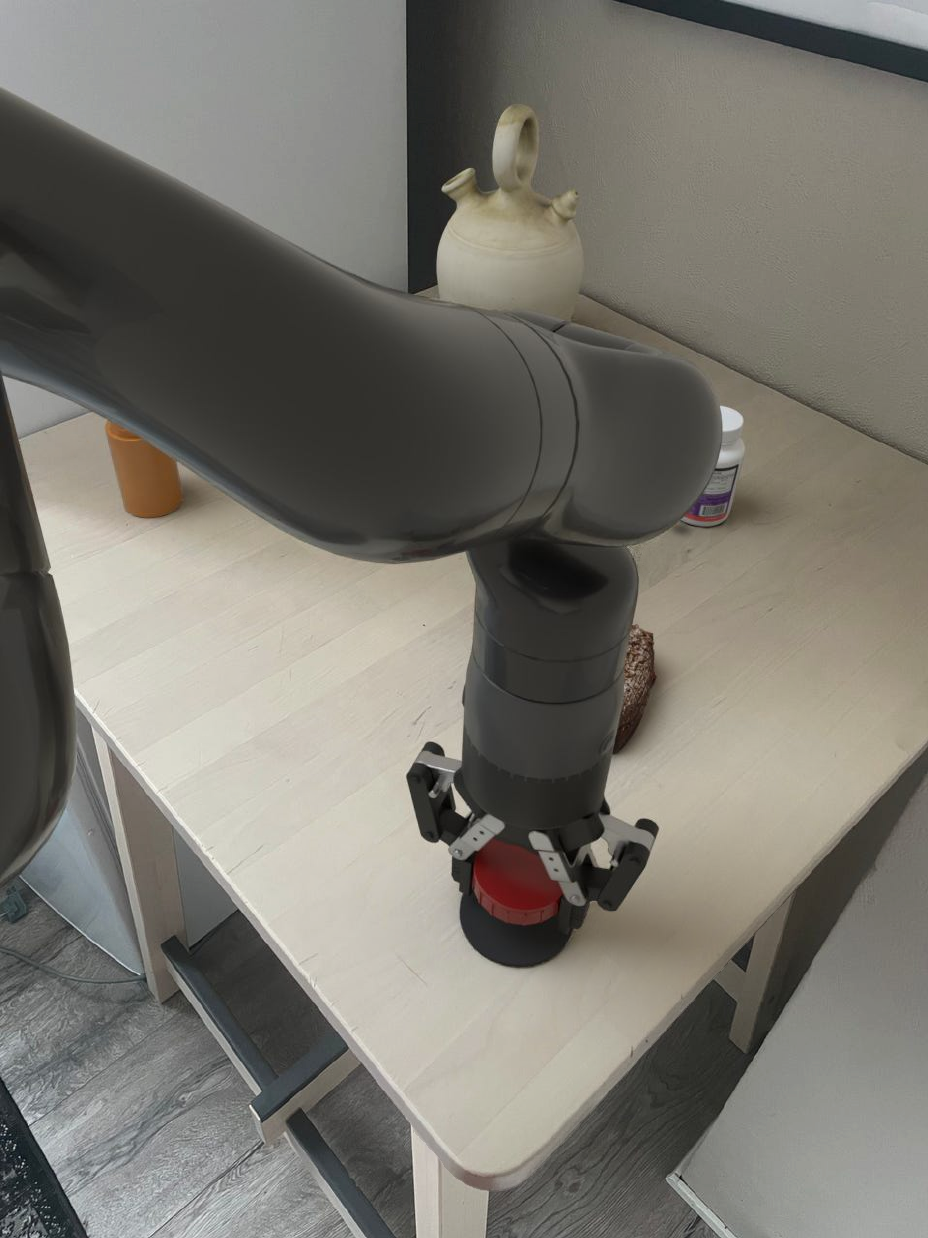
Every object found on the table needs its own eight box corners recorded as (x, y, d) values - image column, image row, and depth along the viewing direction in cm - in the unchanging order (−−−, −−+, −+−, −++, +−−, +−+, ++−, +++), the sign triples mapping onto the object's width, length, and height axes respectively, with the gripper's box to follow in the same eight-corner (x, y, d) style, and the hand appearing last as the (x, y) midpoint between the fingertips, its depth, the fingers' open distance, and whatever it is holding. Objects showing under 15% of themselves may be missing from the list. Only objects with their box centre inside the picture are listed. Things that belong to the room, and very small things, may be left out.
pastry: (666, 661, 79) (679, 604, 75) (620, 774, 71) (632, 717, 67) (532, 619, 82) (538, 563, 78) (473, 723, 74) (476, 666, 70)
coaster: (550, 986, 59) (551, 983, 59) (440, 940, 61) (440, 937, 61) (589, 889, 64) (590, 886, 64) (486, 849, 66) (486, 846, 66)
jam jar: (175, 519, 90) (156, 427, 83) (116, 516, 90) (92, 424, 83) (189, 484, 94) (172, 393, 87) (132, 481, 94) (111, 390, 87)
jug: (406, 348, 113) (404, 105, 96) (495, 301, 122) (507, 70, 105) (516, 398, 106) (534, 146, 89) (601, 344, 115) (633, 105, 98)
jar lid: (499, 826, 63) (500, 810, 62) (585, 866, 61) (589, 851, 60) (453, 898, 59) (454, 882, 58) (544, 943, 57) (547, 928, 56)
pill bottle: (682, 485, 96) (702, 393, 89) (737, 504, 94) (761, 412, 87) (659, 515, 92) (678, 422, 86) (716, 535, 90) (739, 442, 84)
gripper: (704, 708, 51) (651, 895, 62) (438, 622, 55) (435, 812, 66) (663, 823, 46) (613, 1003, 57) (373, 719, 49) (382, 907, 61)
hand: (518, 900), depth 62 cm, fingers closed on jar lid, 5 cm apart
